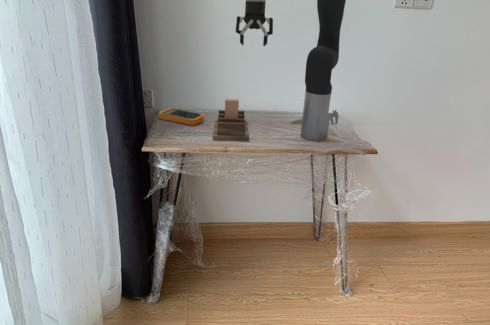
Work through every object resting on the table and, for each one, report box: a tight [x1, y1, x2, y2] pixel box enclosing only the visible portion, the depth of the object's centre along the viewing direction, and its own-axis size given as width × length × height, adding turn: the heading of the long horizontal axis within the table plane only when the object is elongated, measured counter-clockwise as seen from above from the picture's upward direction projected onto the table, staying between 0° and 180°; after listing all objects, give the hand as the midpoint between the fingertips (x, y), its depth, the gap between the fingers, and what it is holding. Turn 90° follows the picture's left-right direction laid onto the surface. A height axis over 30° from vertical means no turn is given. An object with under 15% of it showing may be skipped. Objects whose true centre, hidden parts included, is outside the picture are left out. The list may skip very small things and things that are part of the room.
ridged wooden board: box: [212, 109, 250, 142], centre depth 137 cm, size 19×13×6 cm
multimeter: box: [158, 107, 205, 127], centre depth 148 cm, size 9×18×3 cm, turn 63°
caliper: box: [289, 109, 339, 125], centre depth 152 cm, size 20×1×6 cm, turn 97°
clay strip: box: [224, 98, 240, 119], centre depth 136 cm, size 2×5×11 cm, turn 92°
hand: (253, 45), depth 142 cm, fingers open, 8 cm apart
